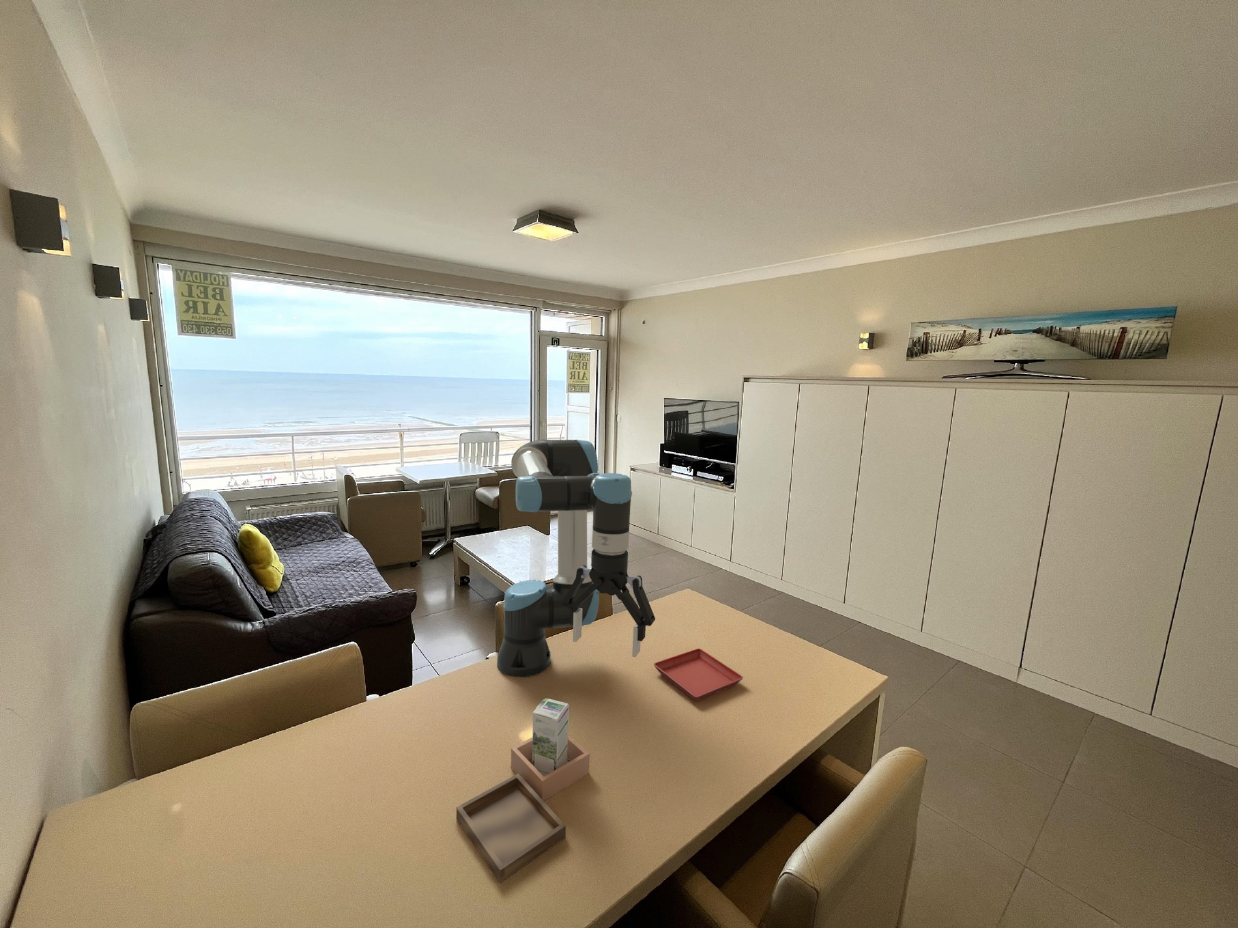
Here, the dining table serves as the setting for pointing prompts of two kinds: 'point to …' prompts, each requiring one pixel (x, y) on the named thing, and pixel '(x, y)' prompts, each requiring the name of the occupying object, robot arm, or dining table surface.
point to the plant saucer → (698, 674)
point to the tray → (510, 826)
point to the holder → (555, 779)
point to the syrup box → (550, 735)
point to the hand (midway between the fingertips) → (605, 646)
